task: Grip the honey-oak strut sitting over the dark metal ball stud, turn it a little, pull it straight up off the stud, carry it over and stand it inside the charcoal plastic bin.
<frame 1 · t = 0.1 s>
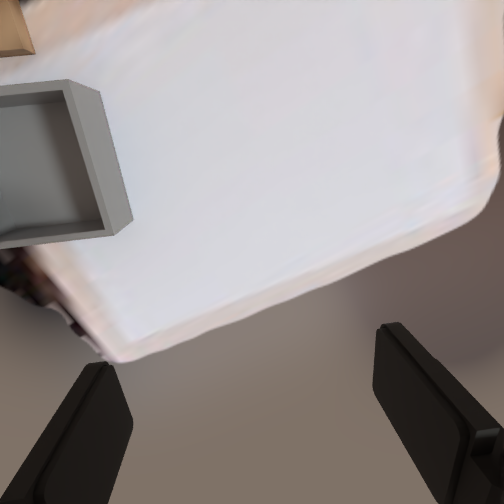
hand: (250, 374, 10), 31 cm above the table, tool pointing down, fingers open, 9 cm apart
charcoal bin: (55, 167, 36), on the table
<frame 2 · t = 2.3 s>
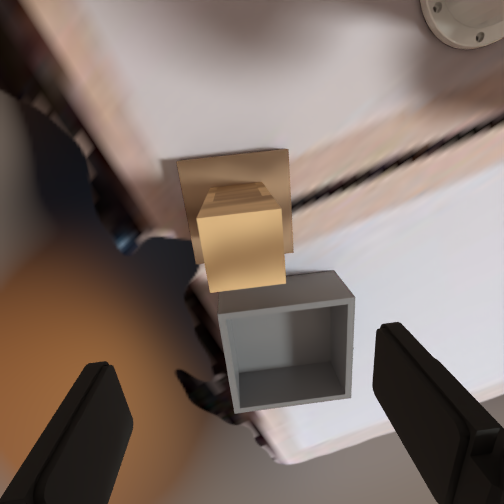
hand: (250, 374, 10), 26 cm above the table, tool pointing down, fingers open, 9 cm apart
stud block: (238, 206, 34), on the table
charcoal bin: (280, 325, 41), on the table
oak strut: (239, 210, 32), point 2 cm above the table, touching stud block
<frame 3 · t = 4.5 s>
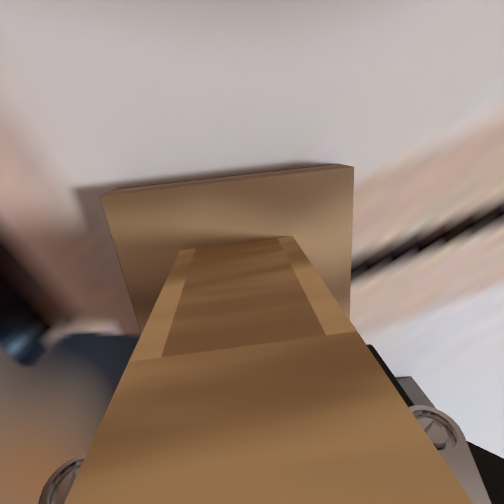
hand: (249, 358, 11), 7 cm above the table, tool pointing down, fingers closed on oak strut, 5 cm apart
stud block: (241, 276, 17), on the table
charcoal bin: (312, 458, 24), on the table
oak strut: (243, 292, 15), point 2 cm above the table, touching gripper, stud block
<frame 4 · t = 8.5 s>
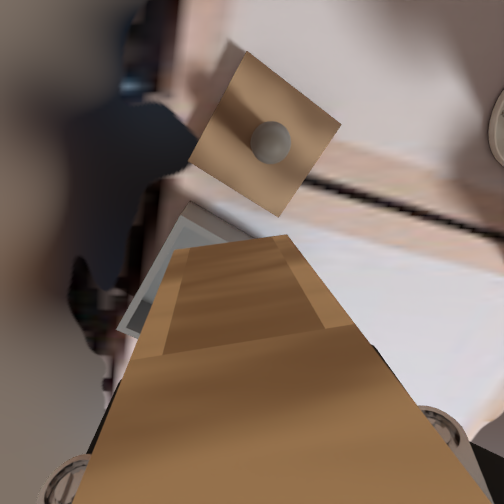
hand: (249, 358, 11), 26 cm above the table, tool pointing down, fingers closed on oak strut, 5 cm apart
stud block: (262, 142, 32), on the table
charcoal bin: (214, 279, 38), on the table
oak strut: (238, 291, 15), point 21 cm above the table, touching gripper
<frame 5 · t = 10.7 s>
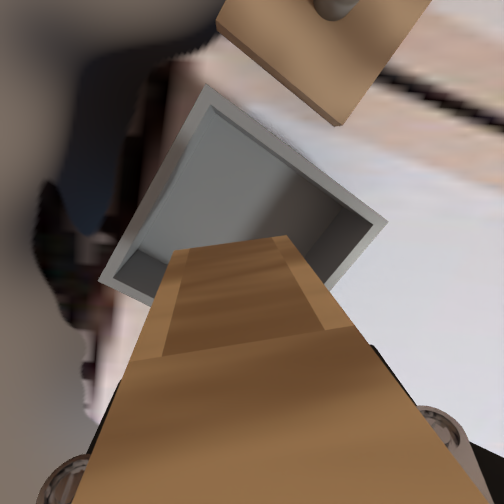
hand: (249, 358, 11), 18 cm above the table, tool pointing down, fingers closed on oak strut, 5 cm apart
stud block: (325, 7, 22), on the table
charcoal bin: (240, 225, 27), on the table
oak strut: (237, 292, 15), point 13 cm above the table, touching gripper
when the fingers open (9 cm above the table, at t = 12.7 s): oak strut drops 3 cm, resting on charcoal bin.
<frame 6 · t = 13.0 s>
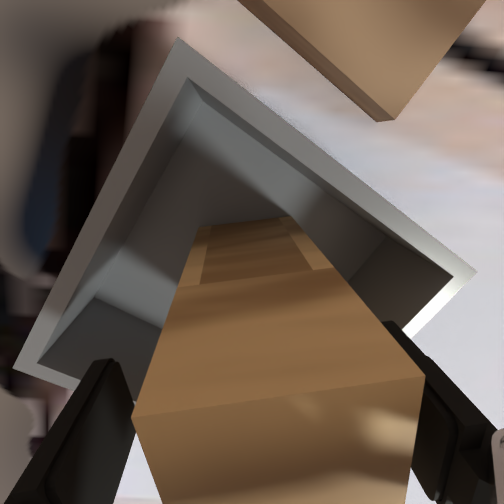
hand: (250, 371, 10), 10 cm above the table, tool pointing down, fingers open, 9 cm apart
charcoal bin: (239, 260, 20), on the table
oak strut: (250, 263, 19), point 1 cm above the table, touching charcoal bin
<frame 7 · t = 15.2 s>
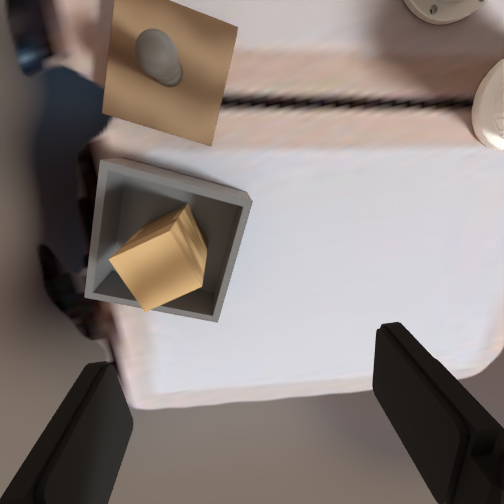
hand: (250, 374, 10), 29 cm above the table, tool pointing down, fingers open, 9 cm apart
stud block: (171, 75, 32), on the table
charcoal bin: (175, 233, 38), on the table
oak strut: (178, 232, 37), point 1 cm above the table, touching charcoal bin
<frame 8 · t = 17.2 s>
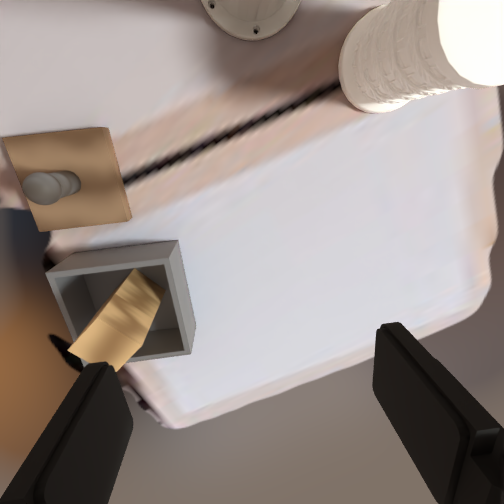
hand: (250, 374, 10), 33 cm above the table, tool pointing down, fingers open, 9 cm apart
stud block: (76, 180, 38), on the table
charcoal bin: (139, 291, 45), on the table
decorative container: (381, 64, 36), on the table
oak strut: (139, 291, 44), point 1 cm above the table, touching charcoal bin
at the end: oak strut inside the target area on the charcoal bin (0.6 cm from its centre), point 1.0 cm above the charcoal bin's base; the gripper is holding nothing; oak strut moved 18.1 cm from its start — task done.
